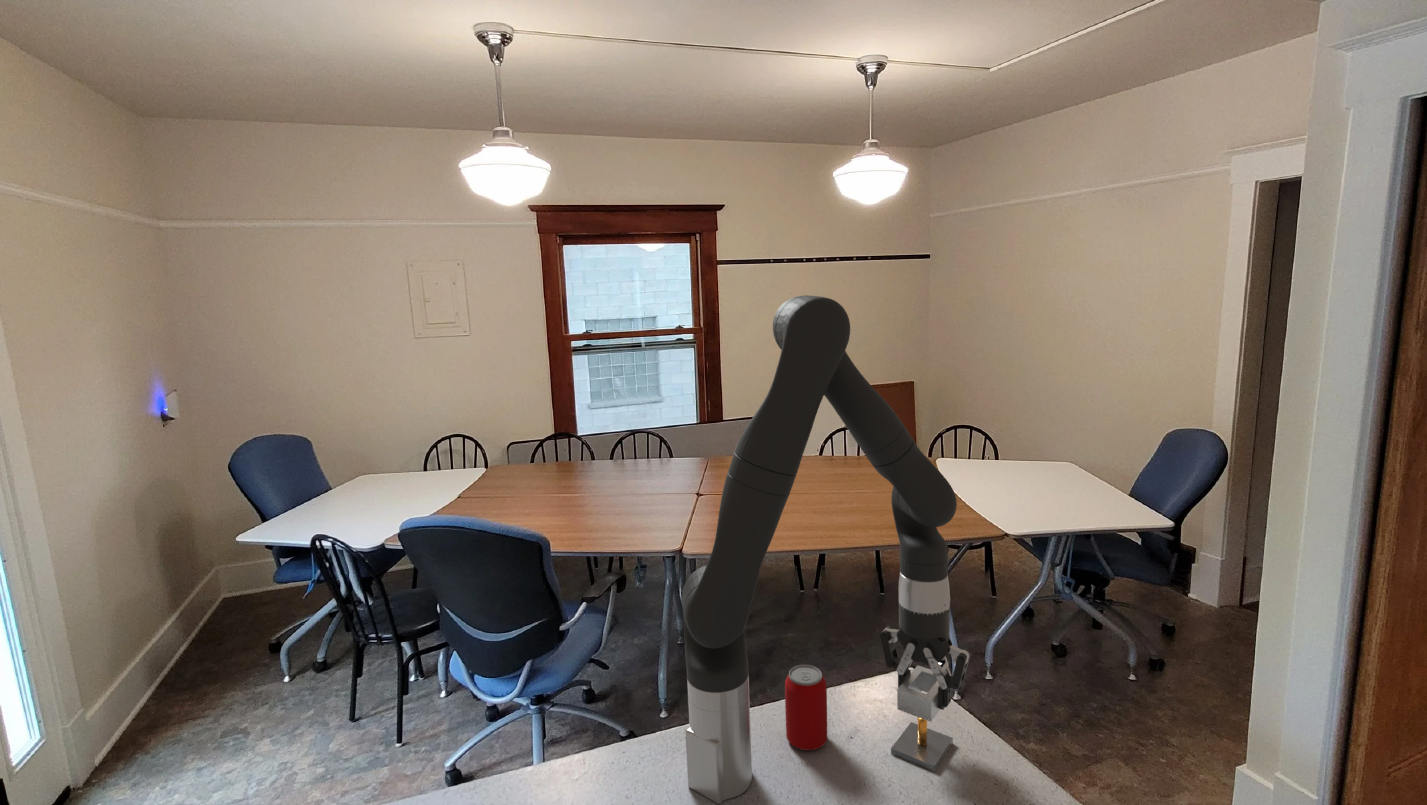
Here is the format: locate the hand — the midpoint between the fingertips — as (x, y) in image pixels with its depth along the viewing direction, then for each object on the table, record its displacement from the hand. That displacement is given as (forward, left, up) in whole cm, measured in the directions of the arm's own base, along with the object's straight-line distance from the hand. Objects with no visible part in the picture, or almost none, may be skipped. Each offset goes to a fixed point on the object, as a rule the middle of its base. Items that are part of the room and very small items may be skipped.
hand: (924, 699), depth 106 cm
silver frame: (0, 0, 0) cm, 0 cm away
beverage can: (-9, +16, -9) cm, 21 cm away
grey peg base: (0, 0, -9) cm, 9 cm away
